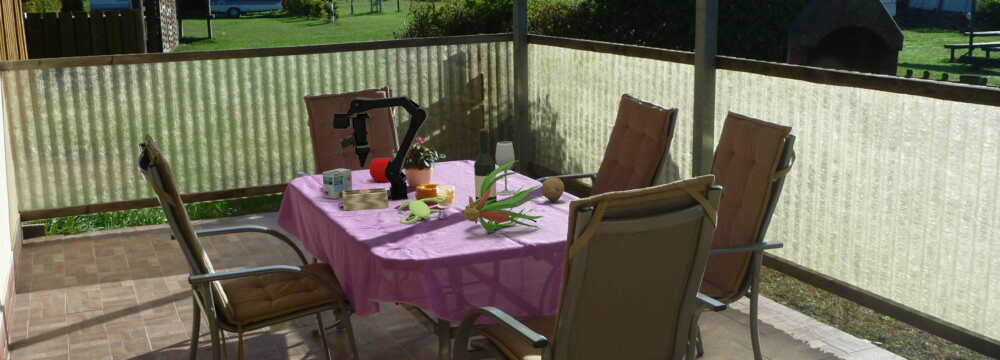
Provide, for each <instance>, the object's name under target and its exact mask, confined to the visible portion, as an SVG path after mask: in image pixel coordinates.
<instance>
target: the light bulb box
mask: <svg viewBox="0 0 1000 360" xmlns="http://www.w3.org/2000/svg"><path fill="white" fill-rule="evenodd" d="M352 175H353V174H352V169H348V168H342V167H341V168H335V169H331V170H327V171H323V172H322V184H323V185H322V186H323V198H326V199H332V200H336V199H340V198H343V196H342V191H348V190H353V179H352V177H353V176H352Z"/></svg>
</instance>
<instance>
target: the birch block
mask: <svg viewBox="0 0 1000 360" xmlns="http://www.w3.org/2000/svg"><path fill="white" fill-rule="evenodd" d="M373 190H381V191H376V192H371V191H373ZM349 192H358V193H349ZM342 196H343V197H342V208H343V211H344V212H348V211H349V212H350V210H351V211H362V210H361V209H365V210H376V209H388V208H389V200H388V199H389V197H388V191H387V189H386V187H382V188H379V187H378V188H377V187H376V188H365V189H364V188H363V189H352V190H348V191H342Z"/></svg>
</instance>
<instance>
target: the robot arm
mask: <svg viewBox="0 0 1000 360" xmlns="http://www.w3.org/2000/svg"><path fill="white" fill-rule="evenodd" d="M394 107H395V108H396V107H402V108H403V110H405V111H406V112H407V113H408V114H409V115H410V116H411V117H410V123H409V126H408V129H407V130H406V134H405V136H404V138H403V140H402V141H401V143H400V146H399V148H398V150H397V153H396V155H395V157H394V158H393V159H394V160H393V159H392V157H390V158H391V159H390V160H389V161H388V164H387V167H386V168H385V169H384V170H386V171H385V176H386V178H387V179H388V180H389V181H388V182H389V183H390V186H389V188H388V189H389V198H391V200H393V201H396V200H406V199H409V197H408V183H407V182H406V181H407V179H408V176H407V174H406V173H405V172H404V171H403V169H404V165H405V159H406V157H407V155H408V153H409V151H410V149H411V147H412V144H413V142H414V140H415V139H416V136H417V134H418V131H419V130H420V129H421V128H422V126H423V125H424V123H425V122H426V121H427V119H428V117H429V115H430V113H429V110H428V109H427V108H426V107H425V106H421V105H419V104H418V103H417V102H415V100H413V99H411V98H409V97H408V95H401V96H391V97H380V98H371V97H361V96H359V97H356V98H354V99H352V100H351V102H350V104H349V108H348V110H347V112H334V113H333V121H332V127H333V129H334V131H336V130H350V128H352V131H351V135H348V136H345V137H344V138H341V139H340V140H338V142H339V144H340V147H341V149H346V148H347V147H349V146H351V148H353V153H354V154H356V155H357V158H358V162H359V166H360V168H364V167H365V164H366V161H367V158H368V155H369V153H371V147H370V145H369V141H368V140H369V138H368V133H369V132H368V125H367V123H368V122H367V119H370V118H372V114H370V113H369V111H370V110H374V109H383V108H384V109H385V108H394Z"/></svg>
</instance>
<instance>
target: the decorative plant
mask: <svg viewBox="0 0 1000 360" xmlns="http://www.w3.org/2000/svg"><path fill="white" fill-rule="evenodd" d="M509 159H510V158H509ZM503 162H504V161H503ZM513 162H514V164H513V165H512V167H511V168H510V169H509V168H505V167H506V166H508V165H510V164H512V163H513ZM513 162H510V163H507V164H505V165H502V166H500V167H499V166H498V165H499V164H498V165H497V167H496V166H495V167H494V168H496V169H495V170H494V171H493V172H491V173H490V175H488V176H487V175H486V176H487V177H485V178H486V179H485V178H484V180H483V183H482V186H481V192H480V197H481V198H479V199H477V200H476V199H475V200H474V199H473V197H472V196H470V195H469V196H468V204H467V205H466V206H465V209H464V211H463V212H464V214H463V217H464V219H465V220H467V221H469V222H473V223H475V225H477V224H478V219H479V222H480V224H481V225H482V227H483V228H484V230H486V231H487V232H489V233H493V232H494V231H495V230H496V229H499V228H509V227H513V226H515V225H520V226H525V227H530V228H531V227H534V228H537V229H541V227H540V228H539V227H538V226H537V225H533V224H528V223H525V222H523V221H524V220H528V221H532V222H534V223H537V222H538V221H537V219H541V218H544V215H543V216H542V215H529V214H526V213H523V212H524V211H525V210H526V208H523V209H522V210H520V211H517V210H516V211H513V209H514V208H518V207H520V206H522V205H524V204H525V203H528V202H530V201H532V200H534V201H535V200H538V199H541V198H543V196H542V197H540V196H539V197H536V196H534V197H529V198H527V199H525V200H523V199H524V197H525V196H527V195H528V194H529V193H530V192H531V191H533V190H534V189H538V188H539V187H540V186H541V184H539V185H536V186H532V187H530V188H527V189H524V190H522V189H523V187H524V186H525V185H527V183H525V184H524V185H522V186H521V187H520V188H519V189H518V190H517V191H516V192H515V194H513V195H512V196H511V197H510V198H506V199H504V200H503V199H502V200H499V201H497V202H495V203H492V204H489V203H490V202H492V201H494V200H496V199H493V200H489V201H487V199H488V198H489V194H490V190H491V186H492V185H493V184H494V183H495V182H496V183H497V181H499V180H502V179H505V178H509V176H511V175H515V174H520V171H519V172H518V171H514V172H510V171H511V170H512V169H513V168H514V167H515V166H517V164H518V163H519V162H520V160H514V161H513ZM500 164H501V163H500ZM503 168H504V169H503ZM506 169H509V170H508V171H507V172H506V173H503V174H500V175H498V174H499V173H502V172H504V170H506ZM495 175H496V178H495V179H494V180H493V181H491V179H492V178H493V177H494V176H495ZM497 175H498V176H497ZM505 176H507V177H505ZM490 181H491V182H490ZM521 190H522V191H521ZM490 197H492V196H490ZM480 199H481V200H480ZM478 200H480V201H478ZM521 200H522V201H521ZM476 201H478V202H476ZM517 202H518V203H517ZM487 204H489V205H487ZM483 206H484V207H483ZM535 209H537V207H535V208H531V209H530V210H529V211H527V213H530V212H531V213H532V211H533V210H535ZM518 219H523V220H522V221H519V220H518ZM486 221H487V222H486Z"/></svg>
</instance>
